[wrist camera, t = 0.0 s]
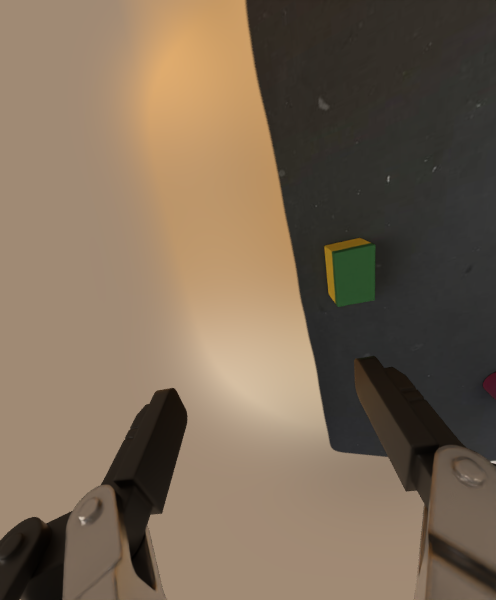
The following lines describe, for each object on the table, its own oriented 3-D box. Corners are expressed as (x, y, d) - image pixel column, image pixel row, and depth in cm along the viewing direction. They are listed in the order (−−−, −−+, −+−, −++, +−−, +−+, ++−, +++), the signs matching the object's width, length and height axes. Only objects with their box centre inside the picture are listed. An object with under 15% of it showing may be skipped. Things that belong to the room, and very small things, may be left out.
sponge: (361, 287, 32) (375, 300, 28) (328, 293, 32) (338, 307, 29) (360, 237, 29) (375, 244, 25) (324, 245, 29) (334, 253, 26)
